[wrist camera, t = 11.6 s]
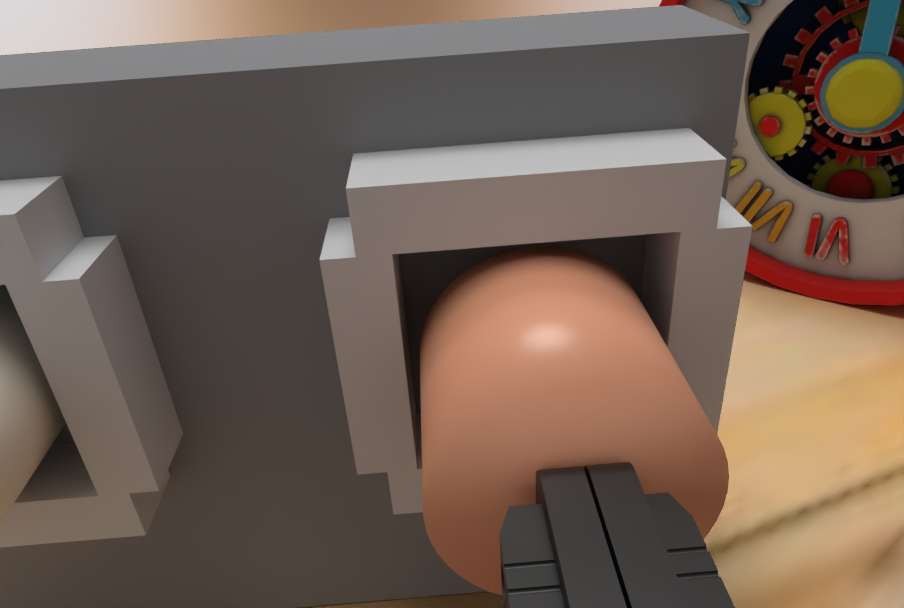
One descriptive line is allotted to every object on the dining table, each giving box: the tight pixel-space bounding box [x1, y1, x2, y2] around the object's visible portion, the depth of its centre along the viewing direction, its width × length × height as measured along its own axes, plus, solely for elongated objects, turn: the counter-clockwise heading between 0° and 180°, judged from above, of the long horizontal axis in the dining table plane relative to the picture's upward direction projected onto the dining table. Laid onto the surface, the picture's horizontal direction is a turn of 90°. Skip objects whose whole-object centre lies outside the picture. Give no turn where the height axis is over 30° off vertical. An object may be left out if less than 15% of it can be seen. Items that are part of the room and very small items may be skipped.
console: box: [0, 5, 752, 608], centre depth 19 cm, size 22×8×16 cm, turn 93°
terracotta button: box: [419, 246, 729, 596], centre depth 13 cm, size 4×5×5 cm
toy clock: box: [659, 0, 904, 305], centre depth 32 cm, size 20×6×20 cm, turn 53°
